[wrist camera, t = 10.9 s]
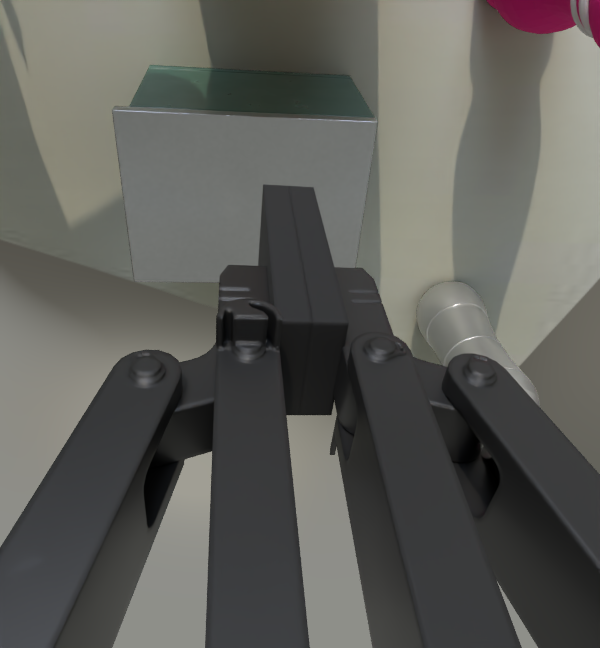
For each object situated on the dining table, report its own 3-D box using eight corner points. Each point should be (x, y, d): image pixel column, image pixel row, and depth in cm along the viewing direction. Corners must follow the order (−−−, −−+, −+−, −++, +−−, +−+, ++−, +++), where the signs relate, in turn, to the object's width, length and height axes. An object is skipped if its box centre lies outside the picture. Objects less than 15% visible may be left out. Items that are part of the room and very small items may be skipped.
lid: (135, 275, 39) (133, 282, 39) (114, 105, 32) (111, 109, 32) (351, 278, 41) (353, 284, 40) (375, 117, 34) (378, 121, 33)
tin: (162, 212, 47) (147, 275, 39) (149, 64, 40) (128, 105, 32) (333, 216, 49) (351, 277, 41) (349, 75, 42) (375, 117, 34)
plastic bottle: (409, 330, 57) (473, 496, 42) (412, 275, 53) (486, 436, 37) (471, 324, 58) (558, 486, 42) (479, 268, 53) (580, 425, 38)
